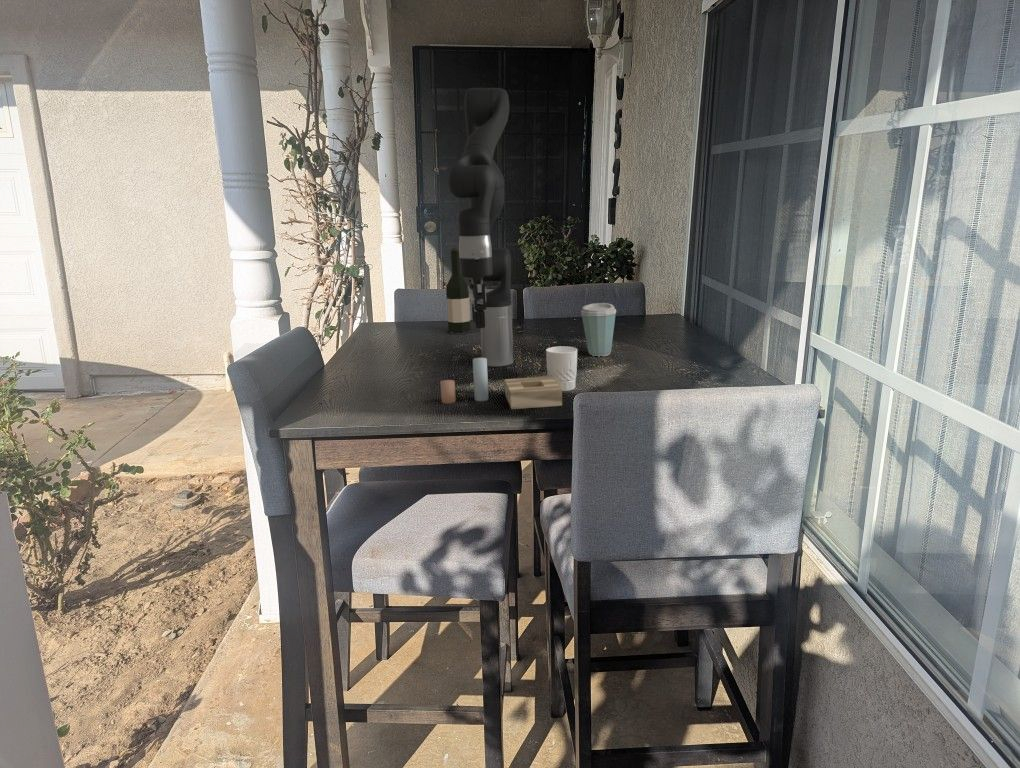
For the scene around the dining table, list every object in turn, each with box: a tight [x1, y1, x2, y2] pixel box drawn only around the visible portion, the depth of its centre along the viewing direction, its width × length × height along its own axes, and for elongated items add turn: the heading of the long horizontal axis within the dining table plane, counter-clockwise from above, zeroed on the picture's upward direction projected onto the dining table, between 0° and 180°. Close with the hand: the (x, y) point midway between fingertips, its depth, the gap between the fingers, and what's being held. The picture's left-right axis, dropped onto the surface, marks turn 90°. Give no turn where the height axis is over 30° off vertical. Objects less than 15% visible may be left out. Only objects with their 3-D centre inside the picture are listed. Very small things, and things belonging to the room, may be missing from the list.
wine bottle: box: [445, 247, 472, 333], centre depth 254 cm, size 8×8×30 cm
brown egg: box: [440, 379, 457, 405], centre depth 172 cm, size 3×3×5 cm
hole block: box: [504, 376, 563, 410], centre depth 171 cm, size 12×12×4 cm
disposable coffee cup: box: [579, 302, 617, 358], centre depth 213 cm, size 11×11×15 cm
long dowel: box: [472, 357, 490, 402], centre depth 172 cm, size 3×3×10 cm
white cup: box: [545, 345, 578, 392], centre depth 179 cm, size 8×8×10 cm
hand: (478, 324), depth 169 cm, fingers open, 8 cm apart
